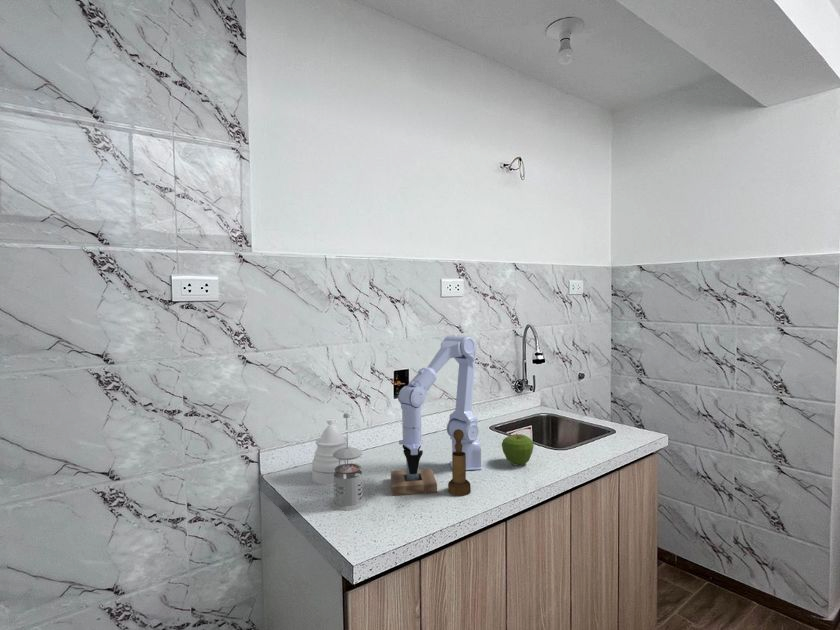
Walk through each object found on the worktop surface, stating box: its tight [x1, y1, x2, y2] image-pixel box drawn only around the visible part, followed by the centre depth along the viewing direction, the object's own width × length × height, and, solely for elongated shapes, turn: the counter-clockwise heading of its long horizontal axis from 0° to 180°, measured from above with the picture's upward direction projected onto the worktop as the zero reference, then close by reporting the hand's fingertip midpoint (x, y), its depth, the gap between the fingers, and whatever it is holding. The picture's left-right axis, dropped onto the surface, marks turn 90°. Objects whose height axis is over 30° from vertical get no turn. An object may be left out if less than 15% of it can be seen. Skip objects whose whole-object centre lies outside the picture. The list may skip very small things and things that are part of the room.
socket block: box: [390, 468, 438, 496], centre depth 131 cm, size 13×12×2 cm
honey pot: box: [311, 418, 354, 486], centre depth 139 cm, size 13×13×18 cm
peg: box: [405, 458, 419, 481], centre depth 131 cm, size 4×4×8 cm
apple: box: [501, 434, 535, 466], centre depth 147 cm, size 11×10×10 cm
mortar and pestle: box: [447, 429, 472, 497], centre depth 126 cm, size 7×6×18 cm
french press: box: [330, 412, 367, 512], centre depth 121 cm, size 10×12×25 cm
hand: (412, 471), depth 131 cm, fingers closed on peg, 4 cm apart
